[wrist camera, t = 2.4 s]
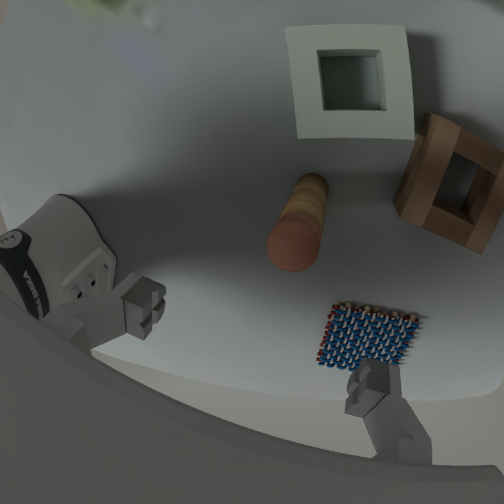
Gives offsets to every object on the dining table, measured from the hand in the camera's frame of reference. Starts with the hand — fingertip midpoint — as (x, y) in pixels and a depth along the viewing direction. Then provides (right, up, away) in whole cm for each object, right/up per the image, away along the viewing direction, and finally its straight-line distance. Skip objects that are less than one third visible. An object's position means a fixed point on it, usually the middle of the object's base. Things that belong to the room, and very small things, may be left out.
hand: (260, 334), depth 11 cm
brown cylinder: (+5, +9, +16) cm, 19 cm away
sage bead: (+8, +17, +11) cm, 22 cm away
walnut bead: (+18, +10, +11) cm, 23 cm away
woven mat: (+13, -7, +23) cm, 28 cm away
